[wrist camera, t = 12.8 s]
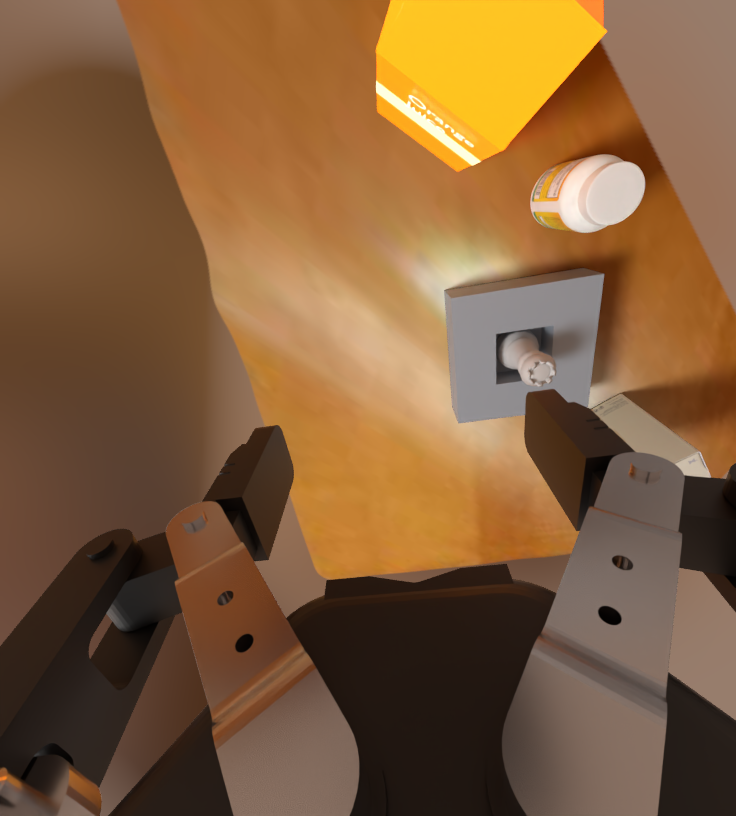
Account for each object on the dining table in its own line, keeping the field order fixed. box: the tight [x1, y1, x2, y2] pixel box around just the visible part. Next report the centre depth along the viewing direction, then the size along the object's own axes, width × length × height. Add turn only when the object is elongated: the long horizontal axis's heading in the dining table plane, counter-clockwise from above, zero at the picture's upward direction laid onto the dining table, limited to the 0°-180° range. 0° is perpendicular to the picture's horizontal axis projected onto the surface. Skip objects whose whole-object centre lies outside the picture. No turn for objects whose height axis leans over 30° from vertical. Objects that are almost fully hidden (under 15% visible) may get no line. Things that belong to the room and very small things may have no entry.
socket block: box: [444, 268, 604, 423], centre depth 40 cm, size 14×14×4 cm
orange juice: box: [376, 0, 607, 172], centre depth 23 cm, size 8×9×20 cm
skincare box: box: [591, 394, 711, 478], centre depth 41 cm, size 6×4×12 cm
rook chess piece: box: [496, 329, 556, 387], centre depth 37 cm, size 4×4×8 cm
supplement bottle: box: [530, 154, 645, 233], centre depth 31 cm, size 5×5×10 cm
